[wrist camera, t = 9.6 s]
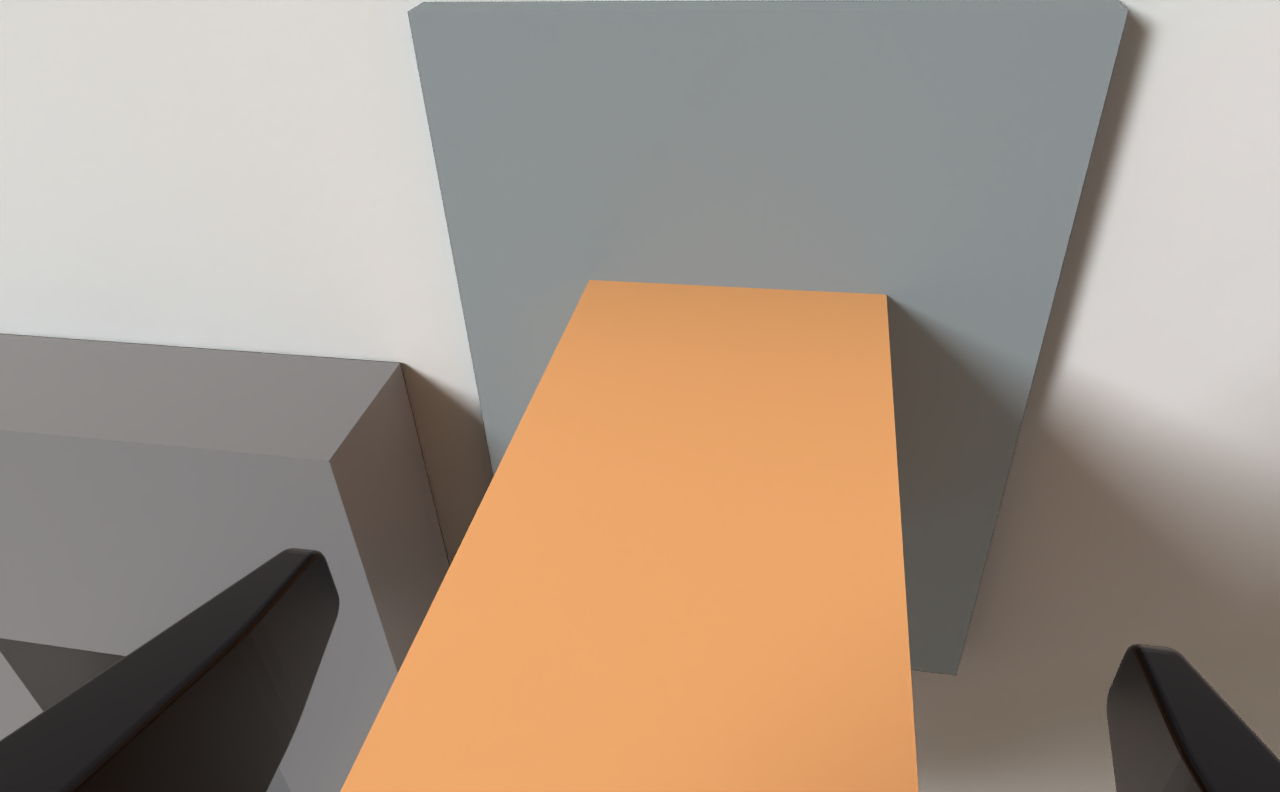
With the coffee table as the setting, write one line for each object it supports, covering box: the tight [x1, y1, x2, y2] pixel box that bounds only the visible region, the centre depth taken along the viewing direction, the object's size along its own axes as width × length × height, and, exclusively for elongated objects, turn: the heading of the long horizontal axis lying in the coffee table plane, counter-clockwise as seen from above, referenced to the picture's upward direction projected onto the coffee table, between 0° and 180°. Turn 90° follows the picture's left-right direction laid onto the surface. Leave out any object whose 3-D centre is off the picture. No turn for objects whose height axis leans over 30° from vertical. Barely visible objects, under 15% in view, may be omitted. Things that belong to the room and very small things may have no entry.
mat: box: [408, 0, 1128, 675], centre depth 13 cm, size 11×8×1 cm
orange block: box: [340, 280, 919, 792], centre depth 10 cm, size 4×4×9 cm
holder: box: [0, 334, 449, 792], centre depth 19 cm, size 16×12×2 cm
